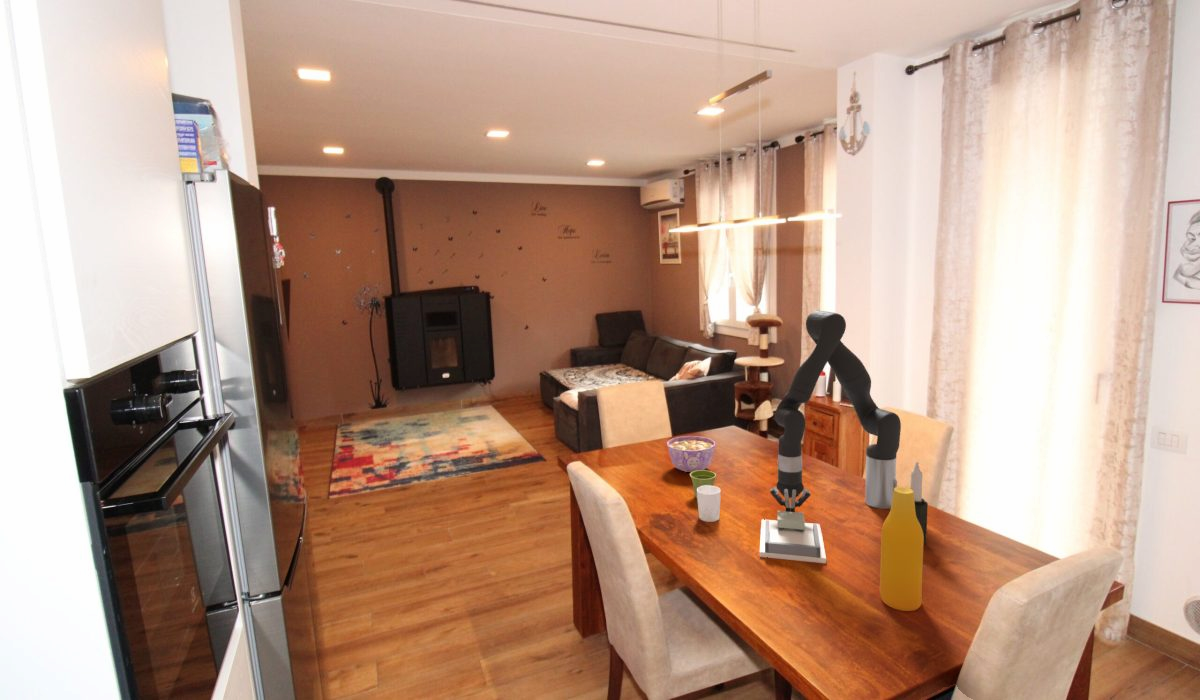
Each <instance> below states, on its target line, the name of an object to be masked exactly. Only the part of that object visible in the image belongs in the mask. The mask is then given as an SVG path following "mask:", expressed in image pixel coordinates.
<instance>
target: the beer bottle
mask: <svg viewBox="0 0 1200 700" xmlns="http://www.w3.org/2000/svg"><path fill="white" fill-rule="evenodd" d="M889 510H890V511H889V513H888V515H887V517H886V518H885V519H884V521H883V524H882V526H881V527H882V528H881V533H880V534H881V535H880V538H881V542H880V546H881V547H880V574H879V575H880V577H879V580H880V582H879V597H880V599H881V601H882V602H883V604H885V605H886V606H888V607H890V608H891V609H895V610H897V611H900V612H901V611H902V612H913V611H914V612H915V611H916V610H918V609H919V608H921V605H922V602H923V595H922V594H923V590H922V589H923V566H924V565H923V564H924V561H923V560H924V545H925V544H924V536H923V531H922V528H921V526H920V523H919V521H918V519H917V517H916V512H915V502H914V492H913V490H912V489H910V487H909V488H908V487H906V486H905V487H904V486H897V487H896V488H894V492H893V498H892V505H891V508H890V509H889ZM923 544H924V545H923Z"/></svg>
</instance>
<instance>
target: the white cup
mask: <svg viewBox="0 0 1200 700" xmlns="http://www.w3.org/2000/svg"><path fill="white" fill-rule="evenodd" d="M721 492H722V491H721V488H720V487H718V486H716V485H713V486H712V485H704V486H700V487H698V488H697V498H696V500H697V507H698V508H697V510H698V518H699V520H701V521H703V522H706V523H713V522H717V521H719V519H720V515H721V514H720V511H721V497H722V496H721Z"/></svg>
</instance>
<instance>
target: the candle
mask: <svg viewBox="0 0 1200 700" xmlns="http://www.w3.org/2000/svg"><path fill="white" fill-rule="evenodd" d="M909 489H912V490H913V492H914V502H915V512H916V517H917V519H918V521H919V523H920V526H921V528H922V531H923V536H924V544H923V546H924V545H926V544H927V534H928V533H927V531H928V529H927V528H928V508H929V507H928V505H929V503H928V502H927V501H925V499H924V498H922V497H923V496H922V495H923V494H922V493H923V492H922V491H923V472H922V471H921V469H920V466H919V462H918V461H916V462H915V465H914V468H913V469H912V471H910V487H909Z"/></svg>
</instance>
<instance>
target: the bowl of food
mask: <svg viewBox="0 0 1200 700" xmlns="http://www.w3.org/2000/svg"><path fill="white" fill-rule="evenodd" d="M666 445H667V450H668V453H669V457H670V460H671V462H672V464H673V466H674V467H675V468H676V469H678V470H680V471H686V472H693V471H697V470H706V469H707V468H709V466H710V465H711V463H712V460H713V457H714V452H715V448H716V442H715V441H714V440H713V439H712V438H709V437H705V436H700V435H699V436H698V435H697V436H696V435H684V436H677V437H673V438H672V439H669V440H668V441H667V442H666ZM686 472H685V473H686Z"/></svg>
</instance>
